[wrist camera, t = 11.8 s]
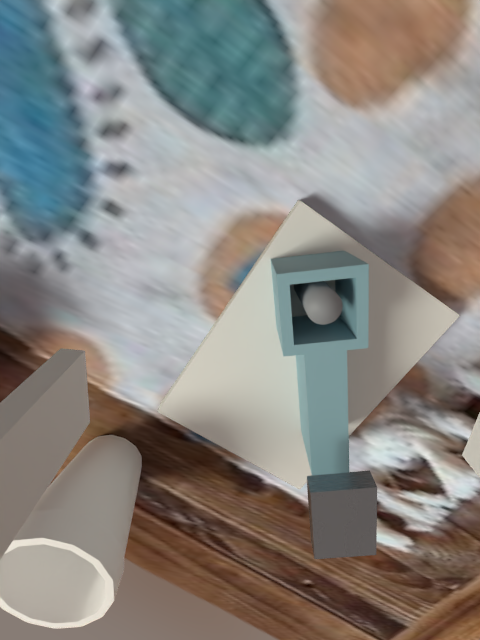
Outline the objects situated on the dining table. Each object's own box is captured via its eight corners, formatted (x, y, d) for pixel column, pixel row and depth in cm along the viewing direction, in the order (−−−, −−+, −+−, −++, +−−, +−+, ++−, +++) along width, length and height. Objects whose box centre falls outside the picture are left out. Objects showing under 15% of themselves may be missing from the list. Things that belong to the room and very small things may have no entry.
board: (297, 200, 29) (316, 202, 21) (450, 310, 32) (514, 346, 24) (160, 403, 35) (137, 459, 28) (297, 478, 38) (310, 548, 31)
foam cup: (155, 497, 40) (115, 632, 27) (72, 490, 39) (-6, 624, 27) (156, 425, 36) (111, 542, 24) (65, 418, 36) (-26, 532, 24)
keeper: (289, 396, 35) (310, 492, 24) (334, 392, 35) (377, 487, 23) (293, 447, 37) (314, 559, 26) (335, 444, 37) (376, 554, 25)
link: (270, 258, 29) (276, 274, 23) (344, 250, 29) (368, 264, 23) (285, 431, 35) (293, 478, 29) (347, 426, 34) (368, 472, 29)
